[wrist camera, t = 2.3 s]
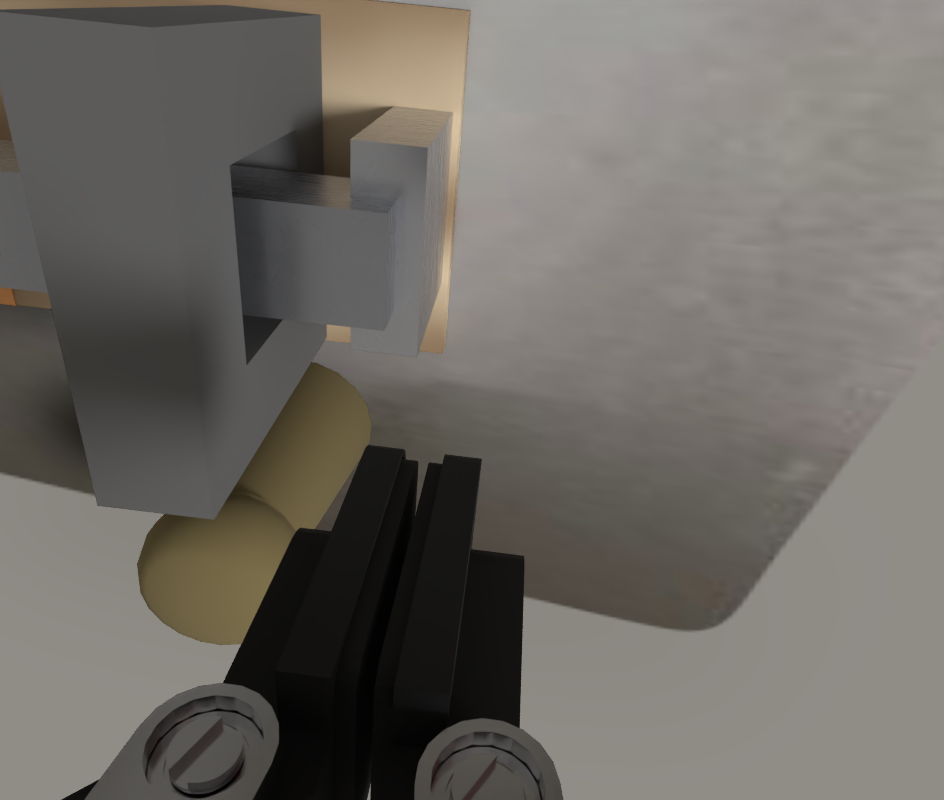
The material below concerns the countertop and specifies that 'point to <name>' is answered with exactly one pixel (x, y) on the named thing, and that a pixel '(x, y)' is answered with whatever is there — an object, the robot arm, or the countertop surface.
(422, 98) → the board
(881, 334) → the countertop surface
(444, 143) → the grey blocky piece
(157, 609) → the cork
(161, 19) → the slotted grey block
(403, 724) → the robot arm
